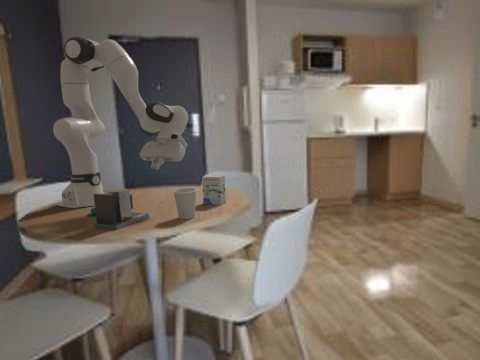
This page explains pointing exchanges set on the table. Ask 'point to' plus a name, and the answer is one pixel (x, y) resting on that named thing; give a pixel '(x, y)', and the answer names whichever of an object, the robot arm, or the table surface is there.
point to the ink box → (214, 189)
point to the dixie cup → (185, 202)
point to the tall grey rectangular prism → (122, 203)
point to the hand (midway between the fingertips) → (154, 168)
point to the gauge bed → (112, 213)
